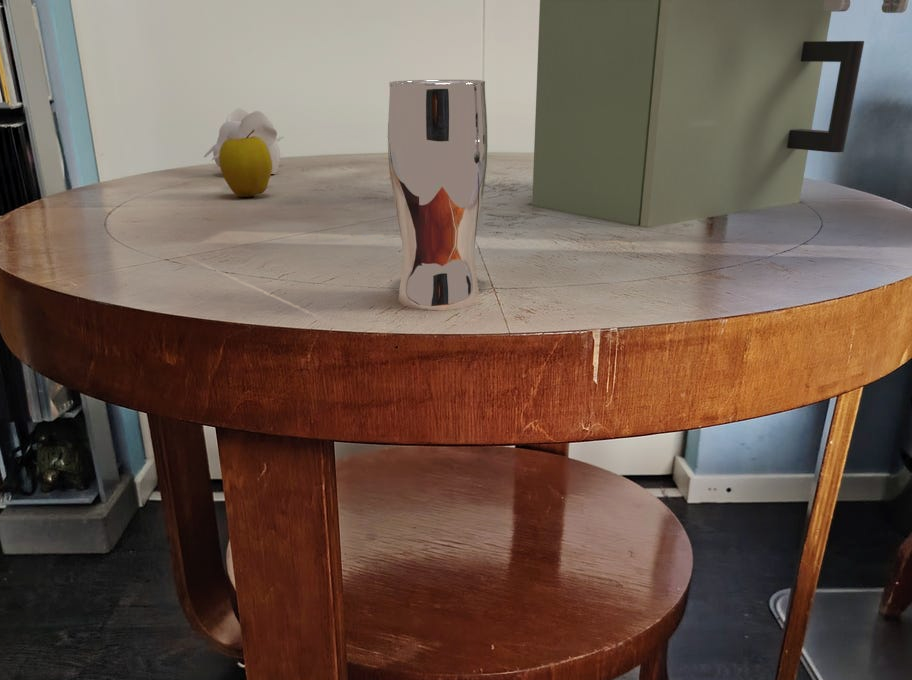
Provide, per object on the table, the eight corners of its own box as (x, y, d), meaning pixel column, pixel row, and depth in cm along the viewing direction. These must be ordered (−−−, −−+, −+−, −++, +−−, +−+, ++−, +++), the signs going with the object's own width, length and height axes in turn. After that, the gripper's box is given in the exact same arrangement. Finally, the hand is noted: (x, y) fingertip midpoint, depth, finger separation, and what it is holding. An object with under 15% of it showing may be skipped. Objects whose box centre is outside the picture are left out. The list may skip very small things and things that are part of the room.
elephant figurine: (200, 173, 136) (192, 109, 132) (276, 168, 141) (271, 106, 137) (218, 181, 128) (210, 113, 124) (297, 175, 133) (292, 109, 129)
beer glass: (428, 285, 72) (425, 78, 65) (502, 297, 68) (507, 79, 62) (373, 304, 67) (364, 82, 60) (451, 318, 63) (450, 84, 57)
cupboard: (788, 211, 101) (829, -38, 90) (636, 237, 89) (662, -47, 78) (678, 194, 113) (702, -28, 102) (531, 215, 100) (540, -35, 89)
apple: (285, 195, 116) (279, 128, 112) (247, 202, 111) (239, 132, 107) (251, 191, 119) (245, 126, 115) (213, 197, 115) (205, 130, 111)
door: (846, 219, 95) (896, -42, 85) (693, 247, 83) (729, -52, 73) (790, 210, 101) (830, -36, 90) (638, 236, 88) (664, -46, 78)
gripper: (864, -189, 71) (829, 10, 78) (994, -161, 82) (954, 12, 88) (795, -175, 76) (767, 11, 82) (927, -150, 86) (893, 14, 93)
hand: (865, 12), depth 85 cm, fingers open, 8 cm apart
